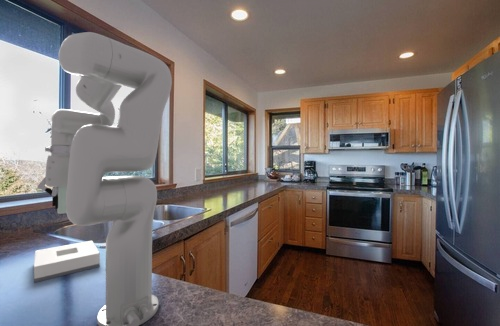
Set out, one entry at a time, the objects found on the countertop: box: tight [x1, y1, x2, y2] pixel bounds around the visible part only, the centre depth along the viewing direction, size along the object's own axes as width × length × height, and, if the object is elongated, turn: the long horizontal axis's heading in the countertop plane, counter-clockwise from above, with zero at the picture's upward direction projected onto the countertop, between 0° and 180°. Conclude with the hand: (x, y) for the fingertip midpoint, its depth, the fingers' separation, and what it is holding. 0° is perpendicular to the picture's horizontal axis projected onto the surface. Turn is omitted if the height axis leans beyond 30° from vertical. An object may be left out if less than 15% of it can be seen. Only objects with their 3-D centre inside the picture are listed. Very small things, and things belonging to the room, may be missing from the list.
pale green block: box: [56, 186, 67, 215], centre depth 78 cm, size 4×4×10 cm
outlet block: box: [33, 240, 101, 283], centre depth 79 cm, size 16×16×4 cm
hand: (65, 206), depth 78 cm, fingers closed on pale green block, 4 cm apart
